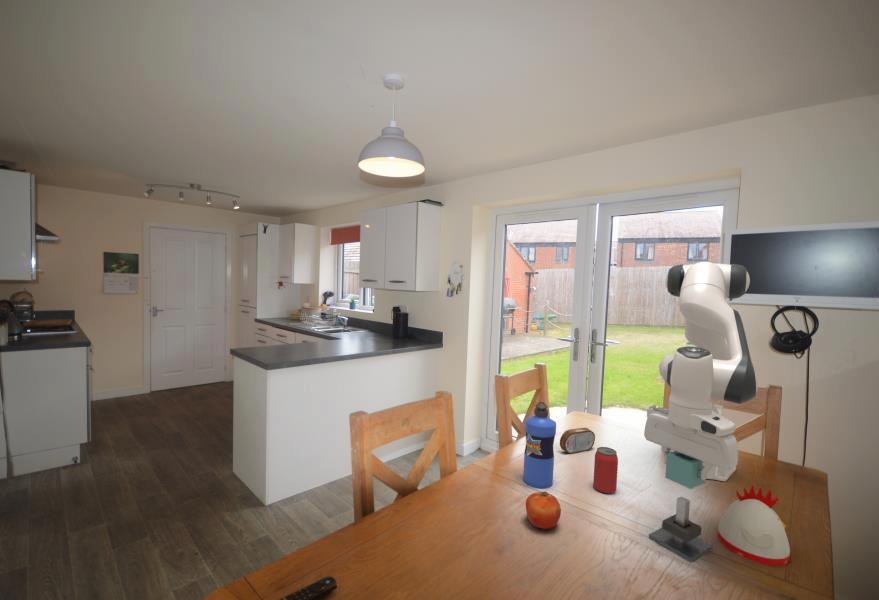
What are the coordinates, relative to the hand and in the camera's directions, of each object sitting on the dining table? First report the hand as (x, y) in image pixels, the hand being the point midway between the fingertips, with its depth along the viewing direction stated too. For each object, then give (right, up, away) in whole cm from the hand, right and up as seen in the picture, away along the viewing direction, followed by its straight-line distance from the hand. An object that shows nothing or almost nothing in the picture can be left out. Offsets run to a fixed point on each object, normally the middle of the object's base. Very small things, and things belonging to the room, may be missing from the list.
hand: (685, 471), depth 99 cm
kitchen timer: (+17, -19, +1) cm, 25 cm away
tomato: (-33, -17, +7) cm, 37 cm away
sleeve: (0, -2, 0) cm, 2 cm away
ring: (-1, -15, +1) cm, 15 cm away
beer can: (-9, -16, +26) cm, 32 cm away
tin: (-8, -15, +54) cm, 56 cm away
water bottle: (-29, -16, +29) cm, 44 cm away
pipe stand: (-1, -18, +1) cm, 18 cm away
